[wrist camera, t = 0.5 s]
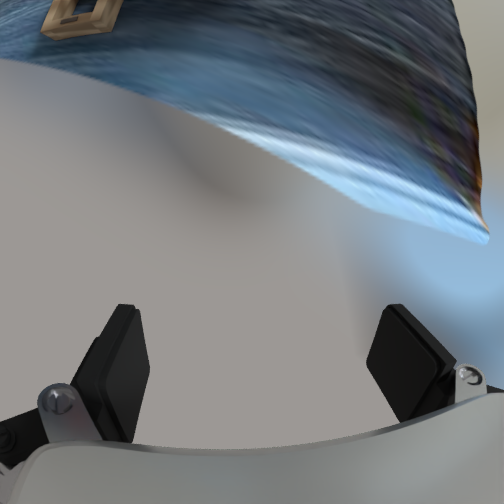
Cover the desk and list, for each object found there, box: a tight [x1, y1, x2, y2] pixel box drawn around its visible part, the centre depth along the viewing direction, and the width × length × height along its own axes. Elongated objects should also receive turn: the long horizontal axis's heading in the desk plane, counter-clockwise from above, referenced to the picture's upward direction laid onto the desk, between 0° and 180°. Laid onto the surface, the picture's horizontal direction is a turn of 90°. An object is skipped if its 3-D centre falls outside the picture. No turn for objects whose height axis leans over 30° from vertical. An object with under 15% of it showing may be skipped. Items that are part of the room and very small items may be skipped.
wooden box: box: [40, 0, 123, 41], centre depth 22 cm, size 11×11×5 cm
